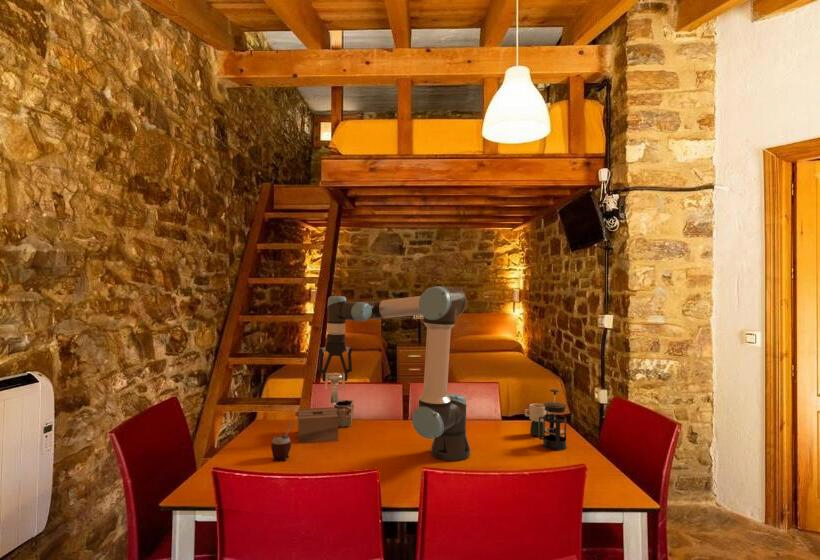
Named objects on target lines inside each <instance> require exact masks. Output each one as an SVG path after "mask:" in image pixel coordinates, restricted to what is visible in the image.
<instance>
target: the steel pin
mask: <svg viewBox="0 0 820 560" xmlns="http://www.w3.org/2000/svg"><path fill="white" fill-rule="evenodd" d="M327 374H328V379H327V381H331V382H330V385H331V386H330V403H331V404H333V403H338V400H339V381H342V380H343V374H342V373H341V372H331V373H330V372H329V373H327Z"/></svg>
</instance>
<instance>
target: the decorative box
mask: <svg viewBox="0 0 820 560" xmlns="http://www.w3.org/2000/svg"><path fill="white" fill-rule="evenodd" d="M332 405H333V407H335V409H336V412H337V415H338V428H339V427H340V428H344V427H351V426H352V422H353V419H354V407H355V405H354V400H351V399H338V403H332Z"/></svg>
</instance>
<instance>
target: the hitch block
mask: <svg viewBox="0 0 820 560" xmlns="http://www.w3.org/2000/svg"><path fill="white" fill-rule="evenodd" d="M297 410H298V411H297V412H298V413H297V414H298V417H297V419H298V423H297V424H298V425H297V435H298V436H297V439H298V440H297V441H298V444H308V443H311V444H312V443H324V442H338V441H339V427H338V415H337V412H336V409H335V407H334V406H332V407H314V408H313V407H311V408H298V409H297Z"/></svg>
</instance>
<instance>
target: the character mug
mask: <svg viewBox="0 0 820 560" xmlns="http://www.w3.org/2000/svg"><path fill="white" fill-rule="evenodd" d="M528 412H529V413H528ZM546 414H552V412H548V411H546V410H545V406H544V403H531V404H530V403H529V408H525V409H524V416H525V417H528V418H529V420H530V421H531V423H530V430H529V433H530V434H531V435H533V436H535V437H536V436H537V437H539V417H543V416H544V415H546ZM548 419H550V417H548ZM541 436H542V437H543V419H540V437H541Z"/></svg>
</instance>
